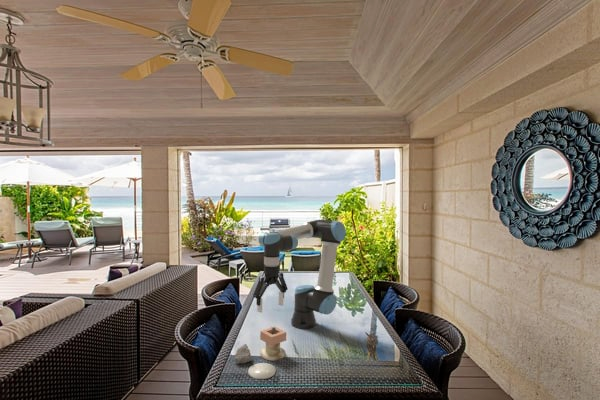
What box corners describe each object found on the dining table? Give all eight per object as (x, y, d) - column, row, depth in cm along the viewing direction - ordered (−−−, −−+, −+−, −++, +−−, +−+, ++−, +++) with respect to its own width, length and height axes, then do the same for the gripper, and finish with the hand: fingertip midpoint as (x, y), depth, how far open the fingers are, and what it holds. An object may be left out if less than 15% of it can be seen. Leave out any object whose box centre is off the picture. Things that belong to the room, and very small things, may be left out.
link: (274, 334, 162) (274, 326, 162) (286, 340, 155) (286, 332, 155) (260, 339, 156) (260, 331, 156) (271, 345, 149) (271, 337, 149)
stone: (233, 365, 144) (234, 352, 144) (234, 355, 154) (235, 343, 154) (251, 364, 146) (252, 351, 146) (251, 354, 155) (251, 342, 155)
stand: (274, 346, 164) (275, 321, 164) (289, 355, 155) (290, 328, 155) (255, 353, 156) (256, 327, 156) (270, 363, 147) (271, 335, 147)
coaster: (264, 361, 149) (264, 360, 149) (281, 372, 140) (281, 371, 140) (242, 370, 140) (242, 369, 140) (258, 382, 132) (258, 381, 132)
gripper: (284, 260, 166) (283, 300, 167) (246, 267, 148) (245, 312, 149) (295, 262, 161) (294, 304, 161) (256, 270, 143) (255, 317, 143)
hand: (270, 308), depth 155 cm, fingers open, 13 cm apart
